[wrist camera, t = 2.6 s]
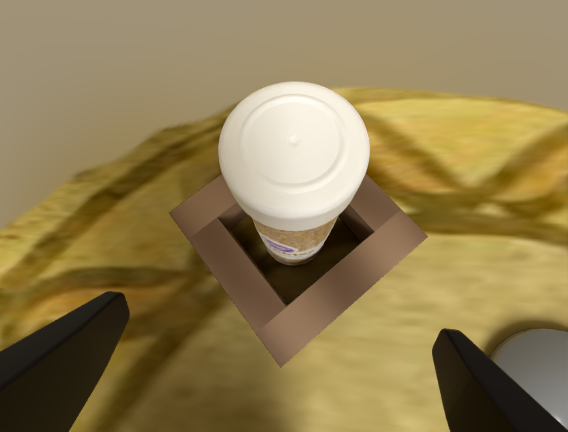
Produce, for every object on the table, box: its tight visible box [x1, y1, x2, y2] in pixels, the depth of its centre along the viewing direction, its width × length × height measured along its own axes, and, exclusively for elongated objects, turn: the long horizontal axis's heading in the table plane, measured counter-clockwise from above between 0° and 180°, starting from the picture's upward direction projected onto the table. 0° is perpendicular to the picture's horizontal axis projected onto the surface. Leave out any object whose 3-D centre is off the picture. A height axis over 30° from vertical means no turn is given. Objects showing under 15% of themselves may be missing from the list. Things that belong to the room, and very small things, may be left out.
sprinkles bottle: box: [218, 82, 370, 266], centre depth 15 cm, size 5×5×13 cm
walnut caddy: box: [169, 173, 428, 368], centre depth 19 cm, size 12×12×4 cm
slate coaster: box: [490, 328, 568, 430], centre depth 17 cm, size 9×9×1 cm
